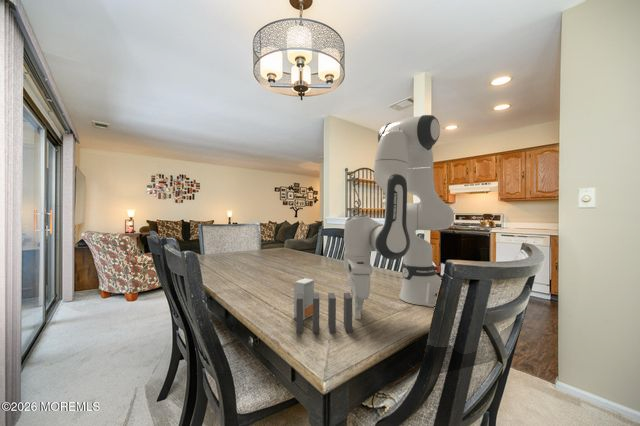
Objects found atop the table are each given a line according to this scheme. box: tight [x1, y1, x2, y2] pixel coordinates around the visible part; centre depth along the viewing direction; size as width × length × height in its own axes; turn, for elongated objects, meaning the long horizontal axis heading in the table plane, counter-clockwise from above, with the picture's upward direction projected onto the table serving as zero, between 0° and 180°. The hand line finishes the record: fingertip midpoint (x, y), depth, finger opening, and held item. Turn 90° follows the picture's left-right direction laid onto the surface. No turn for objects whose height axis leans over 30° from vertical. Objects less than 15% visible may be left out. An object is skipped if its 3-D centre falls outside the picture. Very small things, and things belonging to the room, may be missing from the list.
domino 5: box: [352, 293, 362, 320], centre depth 86 cm, size 2×5×10 cm, turn 3°
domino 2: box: [312, 292, 320, 334], centre depth 76 cm, size 2×5×10 cm, turn 3°
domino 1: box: [295, 293, 304, 334], centre depth 76 cm, size 2×5×10 cm, turn 3°
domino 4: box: [343, 292, 353, 334], centre depth 77 cm, size 2×5×10 cm, turn 3°
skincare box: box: [293, 277, 315, 321], centre depth 86 cm, size 6×4×12 cm
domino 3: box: [327, 292, 337, 334], centre depth 76 cm, size 2×5×10 cm, turn 3°
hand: (356, 303), depth 86 cm, fingers open, 8 cm apart
